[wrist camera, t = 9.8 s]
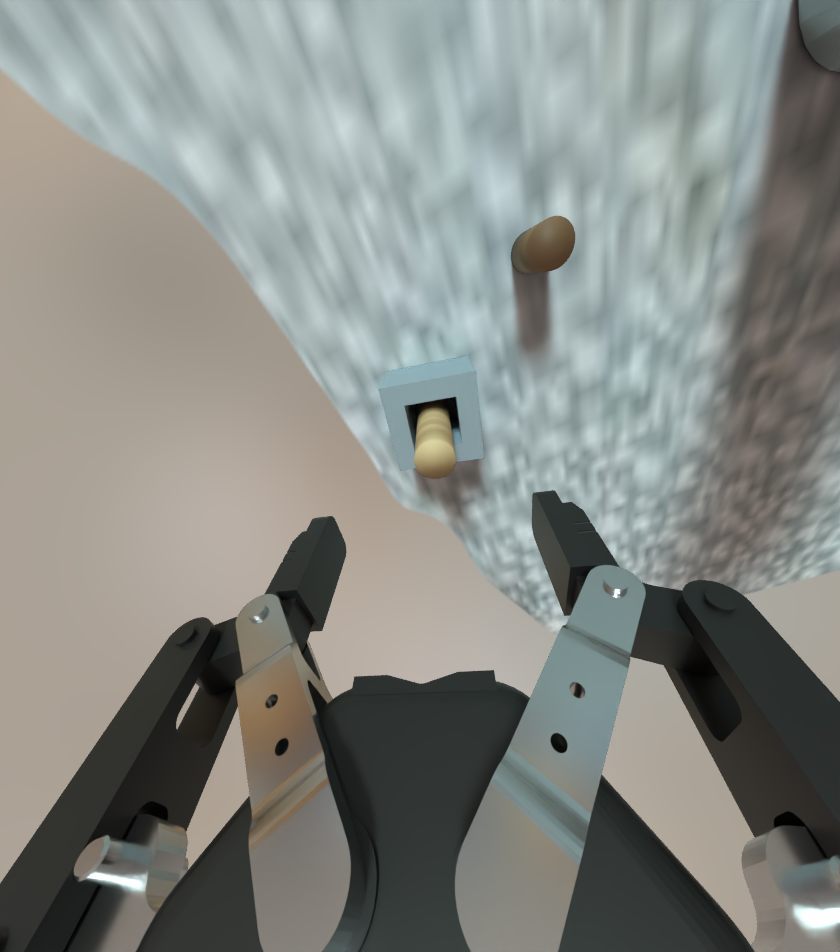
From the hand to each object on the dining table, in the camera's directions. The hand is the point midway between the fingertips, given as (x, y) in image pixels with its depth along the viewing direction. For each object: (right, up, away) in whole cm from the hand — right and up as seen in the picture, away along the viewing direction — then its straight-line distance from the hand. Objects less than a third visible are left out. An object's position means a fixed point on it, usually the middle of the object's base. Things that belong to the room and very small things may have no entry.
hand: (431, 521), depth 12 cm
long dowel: (+1, +8, +14) cm, 16 cm away
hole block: (+1, +8, +14) cm, 16 cm away
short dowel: (+7, +17, +8) cm, 20 cm away
